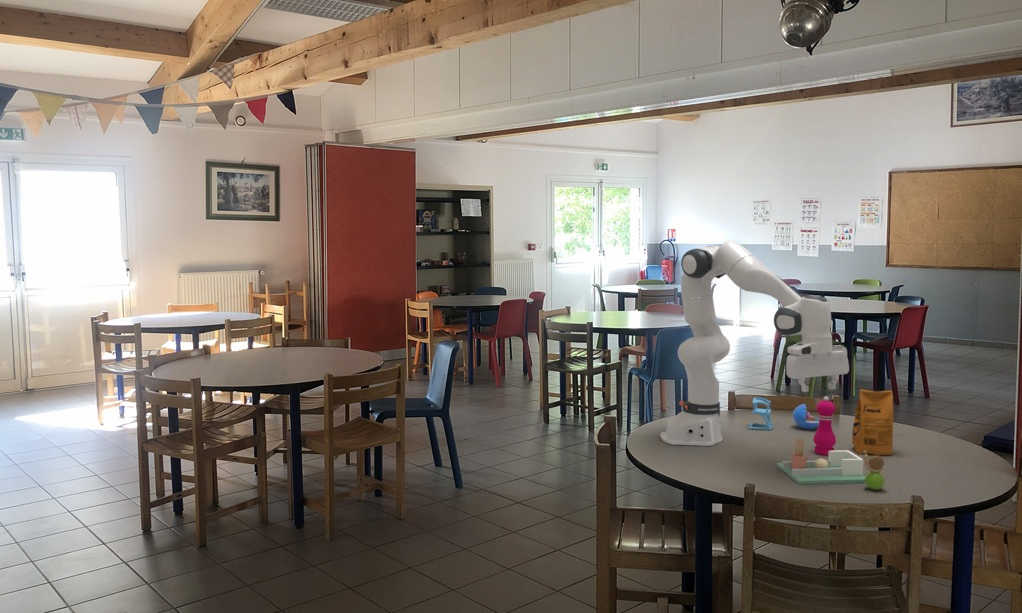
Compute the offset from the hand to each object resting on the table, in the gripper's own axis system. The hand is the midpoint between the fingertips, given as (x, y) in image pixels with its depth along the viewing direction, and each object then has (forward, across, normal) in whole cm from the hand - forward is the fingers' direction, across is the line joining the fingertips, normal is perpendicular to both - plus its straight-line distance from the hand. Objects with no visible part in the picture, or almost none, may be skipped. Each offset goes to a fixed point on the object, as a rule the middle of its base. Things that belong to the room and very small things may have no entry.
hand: (818, 390), depth 246 cm
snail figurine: (+29, -7, +14) cm, 33 cm away
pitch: (+27, -1, -2) cm, 27 cm away
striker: (+26, +6, -3) cm, 27 cm away
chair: (+24, -11, -56) cm, 62 cm away
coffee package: (+27, -32, -19) cm, 46 cm away
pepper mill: (+27, -15, -22) cm, 38 cm away
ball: (+24, -1, -2) cm, 24 cm away
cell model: (+25, -28, -51) cm, 63 cm away
